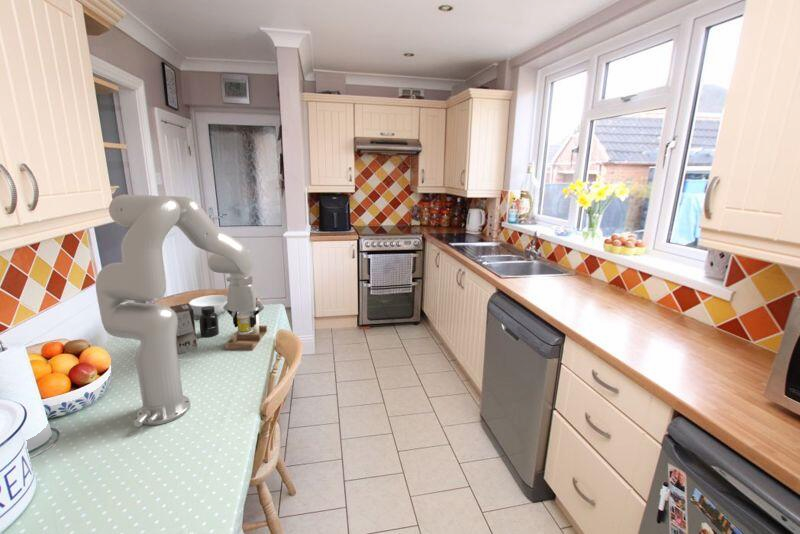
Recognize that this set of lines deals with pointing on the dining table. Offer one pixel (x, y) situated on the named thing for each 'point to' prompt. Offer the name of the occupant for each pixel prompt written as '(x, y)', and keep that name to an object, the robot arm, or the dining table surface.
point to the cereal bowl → (209, 303)
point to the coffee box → (185, 328)
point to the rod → (256, 327)
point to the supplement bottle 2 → (244, 322)
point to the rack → (245, 340)
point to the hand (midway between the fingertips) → (245, 325)
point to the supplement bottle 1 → (208, 322)
